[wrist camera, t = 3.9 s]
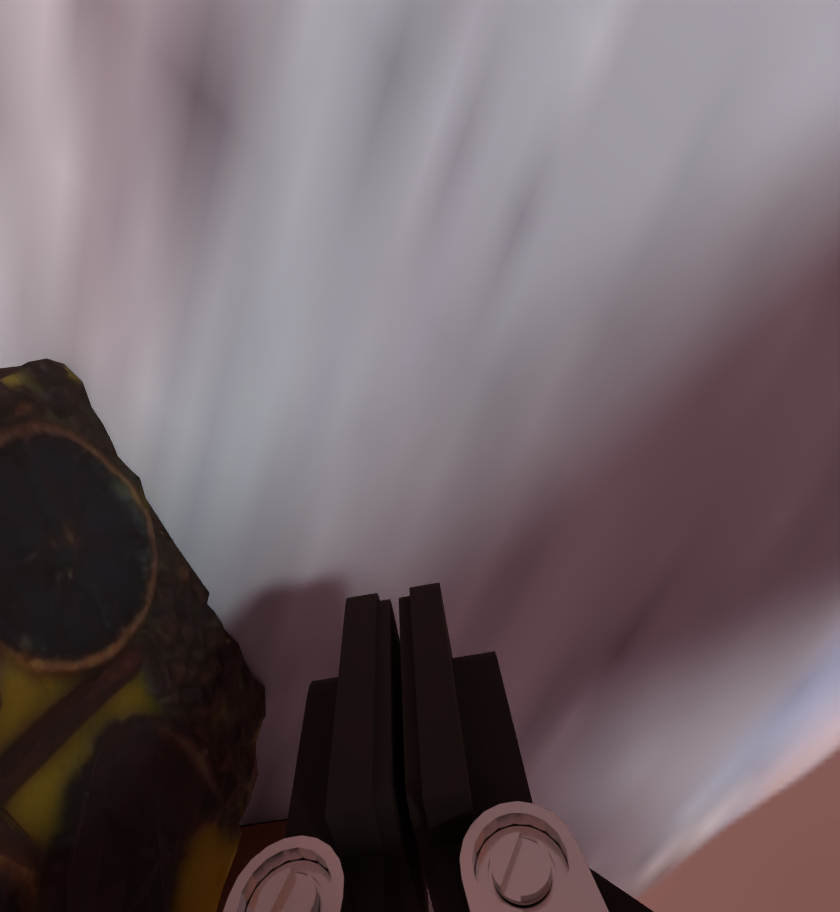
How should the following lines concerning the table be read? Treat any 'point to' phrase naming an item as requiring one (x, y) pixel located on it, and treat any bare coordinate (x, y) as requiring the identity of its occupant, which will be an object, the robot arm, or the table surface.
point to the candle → (107, 678)
